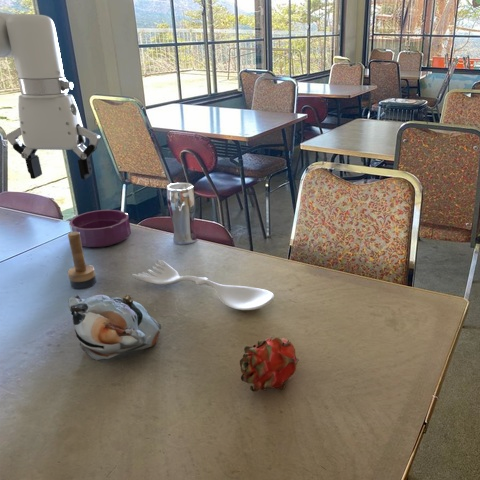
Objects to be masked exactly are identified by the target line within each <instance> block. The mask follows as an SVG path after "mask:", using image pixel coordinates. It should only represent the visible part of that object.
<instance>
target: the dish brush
mask: <svg viewBox="0 0 480 480" xmlns="http://www.w3.org/2000/svg"><path fill="white" fill-rule="evenodd" d="M67 238H68V242H69V247H70V253H71V257H72V261H73V267H71V268H69V269H68V271H67V276H68V280H69V283H70V286H71V288H72V289H74V290H85V289H88V288H89V289H90V288H91V287H93V286H94V285H96V283H97V279H96V272H95V267H94V266H93V265H91V264H87V263H86V259H85V254H84V250H83V246H82V243H81V238H80V233H79V232H71V231H70V232H68V233H67Z"/></svg>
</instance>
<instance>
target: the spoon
mask: <svg viewBox="0 0 480 480" xmlns="http://www.w3.org/2000/svg"><path fill="white" fill-rule="evenodd" d="M154 265H155V266H154ZM154 265H152V266H151V268H152V269H153V270H152V269H146V271H147V272H148V273H147V272H145V271H141V272H137V274H136V273H132V274H131V276H132V278H134V279H136V280H138V281H141V282H146V283H150V284H153V285H159V286H165V285H166V286H168V285H173V284H177V283H180V282H192V283H195V284H196V285H197V286H204V285H205V286H209V287H211V288H212V289H214V291H215V293H216V294H217V297H218V298H219V300H220V301H221V302H222V303H223V304H224V306H225V305H226V306H227V307H229V308H230V309H234V310H238V311H254V310H259V309H263V308H266V307H267V306H269V305H271V303H272V302H273V301H274V299H275V295H274V293H273V292H272V291H270V290H267V289H265V288H259V287H253V286H246V285H245V286H243V285H230V284H228V285H227V284H220V283H217V282H214V281H211V280H209V278H208V277H206V276H202V277H201V276H200V277H199V276H195V275H183V276H180V274H179V272H178V271H177V270H176V269H175V268H173V267H172V266H171V265H169V264H168V263H167V262H165V261H164V260H163V259H162V258H161V259H160V258H157V262H154Z"/></svg>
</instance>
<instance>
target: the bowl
mask: <svg viewBox="0 0 480 480" xmlns="http://www.w3.org/2000/svg"><path fill="white" fill-rule="evenodd" d="M69 229H70V233H71V232H79V233H80V238H81V243H82V247H86V248H103V247H109V246H114V245H117V244H119V243H121V242H122V241H124V240H126V239H128V238H129V237H130V236H131V235H132V230H131V223H130V216H129V214H128V213H127V212H125V211H122V210H119V209H100V210H93V211H87V212H84V213H81V214H78V215H76V216H74V217H72V218H71V219H70V220H69Z"/></svg>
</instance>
